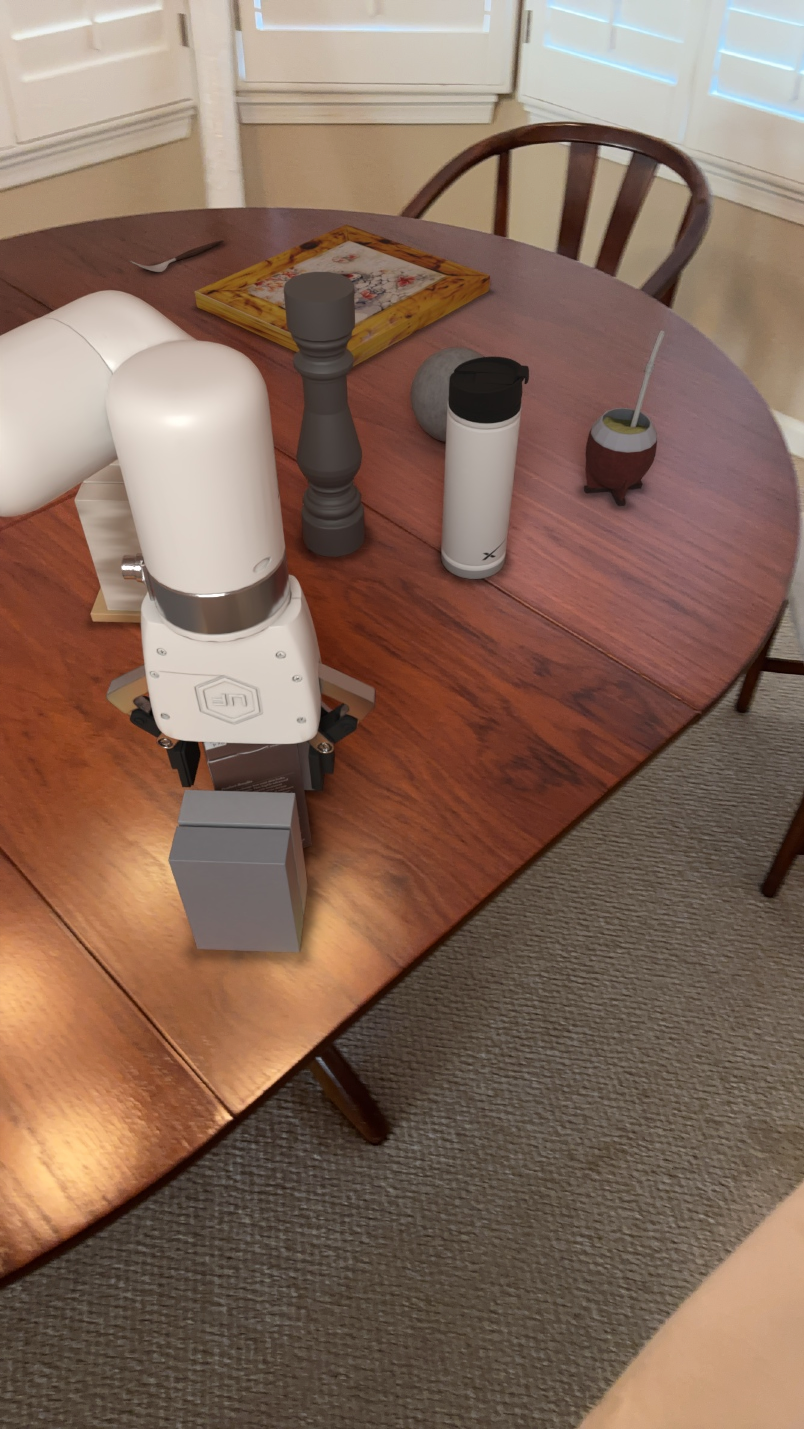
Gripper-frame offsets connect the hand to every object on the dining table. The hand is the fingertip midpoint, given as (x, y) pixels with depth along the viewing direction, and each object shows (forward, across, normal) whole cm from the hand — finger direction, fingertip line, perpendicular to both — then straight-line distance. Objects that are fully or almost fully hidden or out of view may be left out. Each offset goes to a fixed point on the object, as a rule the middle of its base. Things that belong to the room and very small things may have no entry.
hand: (255, 772), depth 65 cm
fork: (+8, -26, +101) cm, 105 cm away
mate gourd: (+8, +31, +46) cm, 56 cm away
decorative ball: (+8, +14, +55) cm, 57 cm away
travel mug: (+8, +16, +33) cm, 37 cm away
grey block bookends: (+8, 0, 0) cm, 8 cm away
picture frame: (+8, -1, +89) cm, 89 cm away
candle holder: (+8, +2, +36) cm, 37 cm away
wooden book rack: (+7, -14, +31) cm, 35 cm away
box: (+8, 0, 0) cm, 8 cm away
